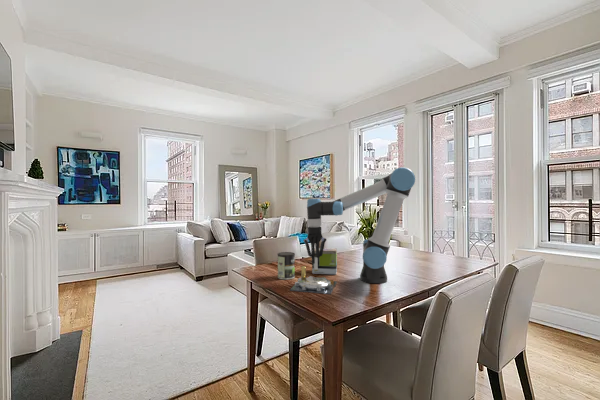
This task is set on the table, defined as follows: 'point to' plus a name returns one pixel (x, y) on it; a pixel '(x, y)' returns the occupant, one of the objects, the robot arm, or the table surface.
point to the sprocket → (313, 282)
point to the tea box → (326, 262)
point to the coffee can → (286, 265)
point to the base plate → (324, 291)
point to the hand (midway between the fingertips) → (315, 269)
